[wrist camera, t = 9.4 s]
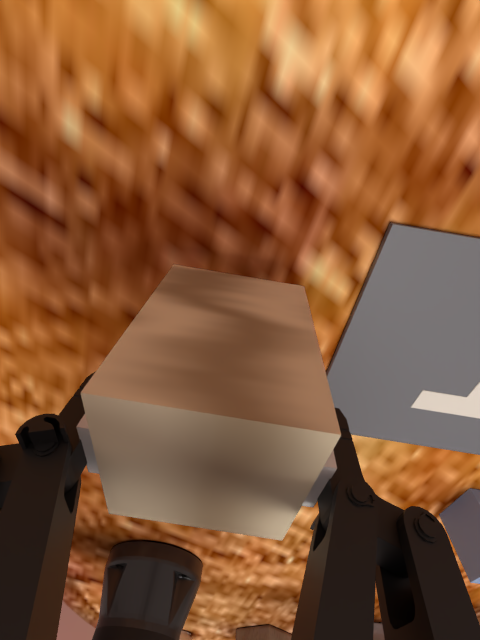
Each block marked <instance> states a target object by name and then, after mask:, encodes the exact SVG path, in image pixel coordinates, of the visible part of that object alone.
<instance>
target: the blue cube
mask: <svg viewBox="0 0 480 640" xmlns="http://www.w3.org/2000/svg"><path fill="white" fill-rule="evenodd" d="M439 515H440V518H441V520H442V522H443V524H444V526H445V528H446V531H447V533H448V535H449V537H450V539H451V541H452V544H453V546H454V548H455V550H456V552H457V554H458V556H459V559H460V561H461V563H462V565H463V567H464V569H465V572H466V574H467V576H468V578H469V580H470V582H471V583H478V584H480V490H478V489H471V488H470V489H468V490H467V491H466V492H465V493H464V494H463V495H461V496H460V497H459V498H458V499H457V500H456V501H455V502H453V503H452V504H451V505H450V506H449V507H448V508H446V509H445V510H444V511H443V512H442V513H441V514H439Z"/></svg>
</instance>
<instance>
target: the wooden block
mask: <svg viewBox="0 0 480 640" xmlns="http://www.w3.org/2000/svg"><path fill="white" fill-rule="evenodd" d="M291 637H292V634H289V633H287V632H285V631H283V630H280V629H278V628H276V627H273V626H271V625H261V626H253V627H245V628H238V629H237V630H236V640H291Z"/></svg>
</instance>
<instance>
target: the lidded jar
mask: <svg viewBox="0 0 480 640" xmlns="http://www.w3.org/2000/svg"><path fill="white" fill-rule="evenodd" d="M179 640H192V638H191V633H189V632H187V631H184V630H182V631H181V635H180V639H179Z"/></svg>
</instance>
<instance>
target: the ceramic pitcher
mask: <svg viewBox="0 0 480 640" xmlns="http://www.w3.org/2000/svg"><path fill="white" fill-rule="evenodd" d="M373 640H385V638H384V632H383V625H382V623H374V631H373Z"/></svg>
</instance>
